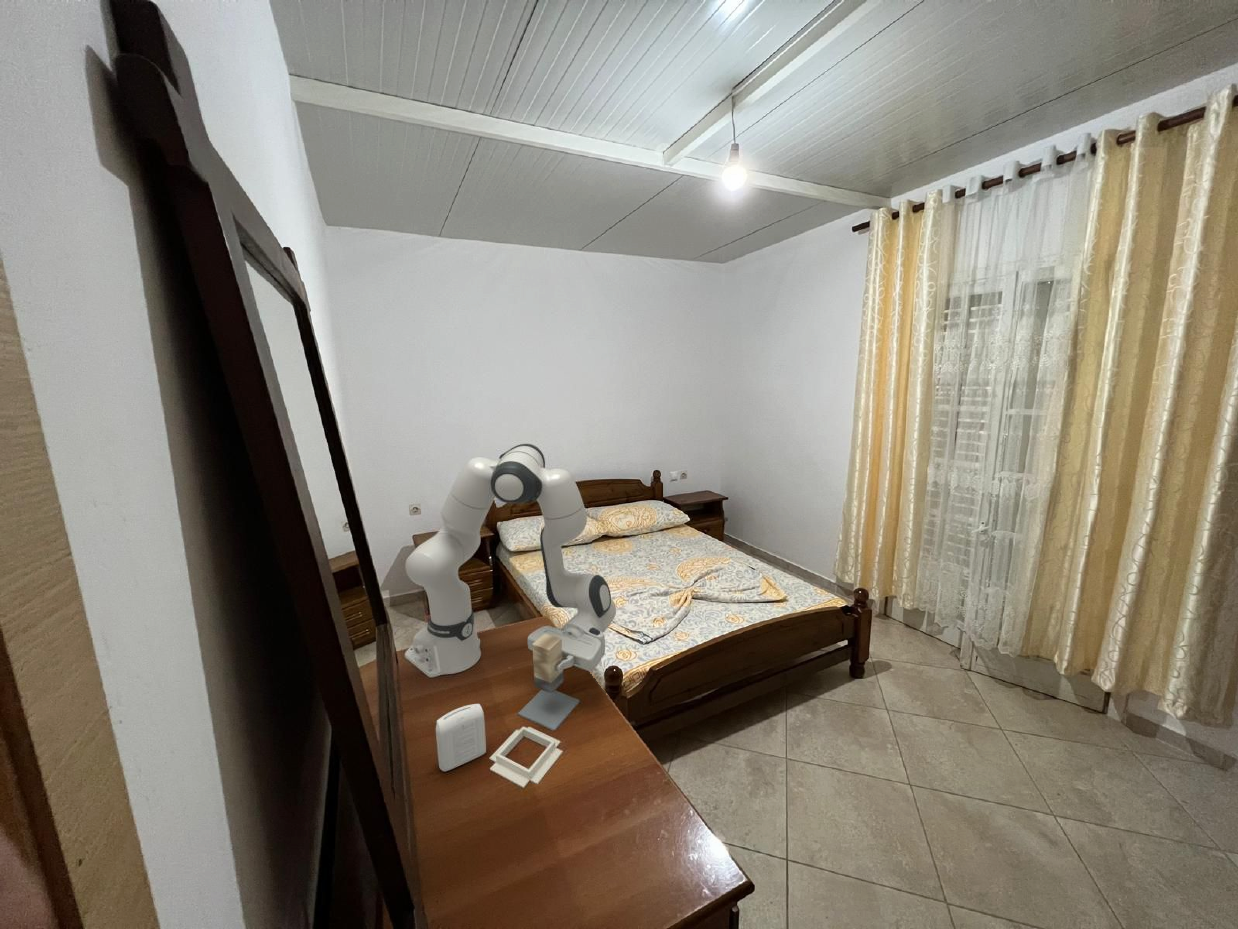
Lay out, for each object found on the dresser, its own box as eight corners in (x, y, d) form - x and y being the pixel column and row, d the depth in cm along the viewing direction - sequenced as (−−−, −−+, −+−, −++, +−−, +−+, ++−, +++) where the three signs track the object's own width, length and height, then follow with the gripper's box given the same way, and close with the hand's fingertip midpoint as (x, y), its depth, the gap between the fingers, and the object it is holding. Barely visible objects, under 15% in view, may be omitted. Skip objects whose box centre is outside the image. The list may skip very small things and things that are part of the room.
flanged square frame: (483, 766, 103) (482, 758, 102) (522, 724, 114) (521, 717, 113) (531, 792, 97) (530, 784, 96) (567, 745, 108) (567, 738, 107)
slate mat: (518, 715, 117) (518, 713, 117) (545, 687, 126) (545, 686, 126) (554, 731, 112) (554, 730, 112) (579, 702, 121) (579, 700, 121)
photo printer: (483, 740, 109) (479, 695, 106) (489, 753, 106) (485, 707, 103) (437, 761, 104) (431, 714, 101) (441, 776, 100) (436, 727, 97)
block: (535, 687, 116) (532, 644, 113) (547, 675, 121) (545, 633, 118) (551, 693, 114) (549, 650, 111) (563, 681, 118) (561, 639, 115)
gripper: (545, 615, 131) (512, 641, 119) (609, 635, 121) (580, 666, 110) (546, 635, 132) (513, 663, 121) (609, 656, 123) (581, 689, 111)
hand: (546, 665), depth 115 cm, fingers closed on block, 5 cm apart
